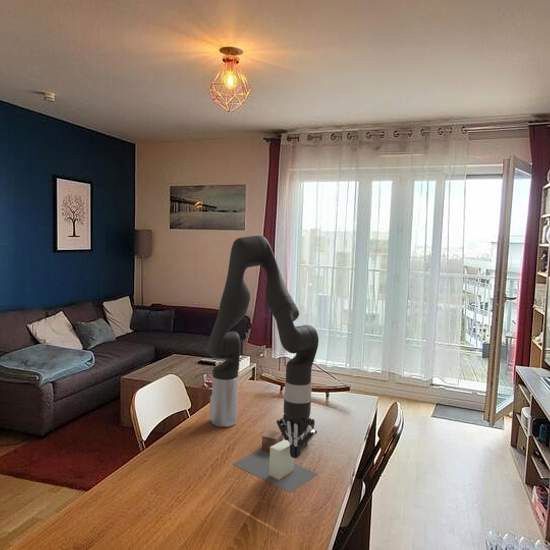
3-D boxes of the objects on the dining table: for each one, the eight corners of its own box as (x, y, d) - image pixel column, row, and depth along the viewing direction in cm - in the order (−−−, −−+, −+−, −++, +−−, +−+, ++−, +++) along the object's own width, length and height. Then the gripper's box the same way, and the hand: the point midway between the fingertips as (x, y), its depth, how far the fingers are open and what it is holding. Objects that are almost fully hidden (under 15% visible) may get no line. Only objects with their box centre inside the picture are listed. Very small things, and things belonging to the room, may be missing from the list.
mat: (232, 465, 135) (232, 464, 135) (261, 450, 145) (261, 449, 145) (290, 494, 121) (290, 492, 121) (318, 475, 131) (318, 473, 131)
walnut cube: (261, 450, 145) (262, 435, 145) (268, 444, 150) (268, 429, 149) (275, 454, 143) (276, 439, 143) (282, 448, 147) (282, 433, 147)
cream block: (269, 475, 129) (270, 447, 129) (284, 466, 135) (285, 439, 134) (278, 480, 127) (279, 451, 126) (293, 470, 132) (294, 442, 132)
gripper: (270, 394, 127) (268, 453, 129) (309, 407, 119) (306, 470, 121) (287, 388, 133) (284, 444, 135) (325, 399, 125) (322, 460, 126)
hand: (295, 456), depth 128 cm, fingers closed
